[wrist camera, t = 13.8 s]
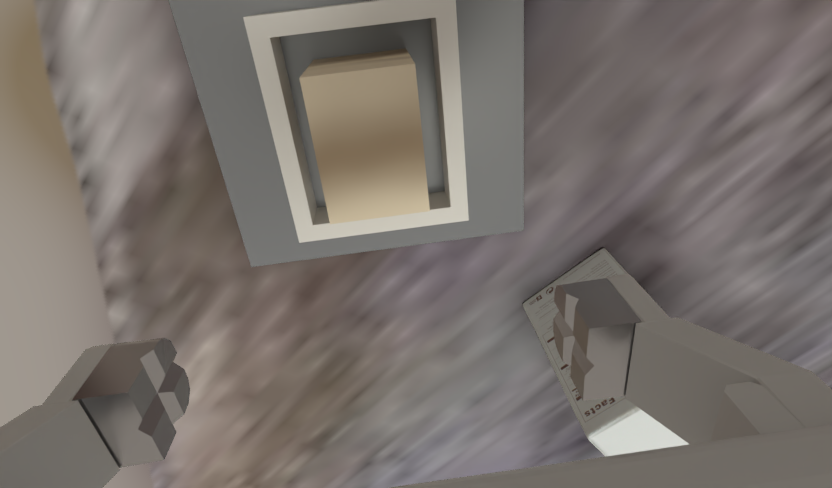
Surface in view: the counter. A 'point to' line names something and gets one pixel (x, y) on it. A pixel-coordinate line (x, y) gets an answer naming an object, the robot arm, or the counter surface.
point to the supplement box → (602, 418)
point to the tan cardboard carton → (367, 134)
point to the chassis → (290, 132)
